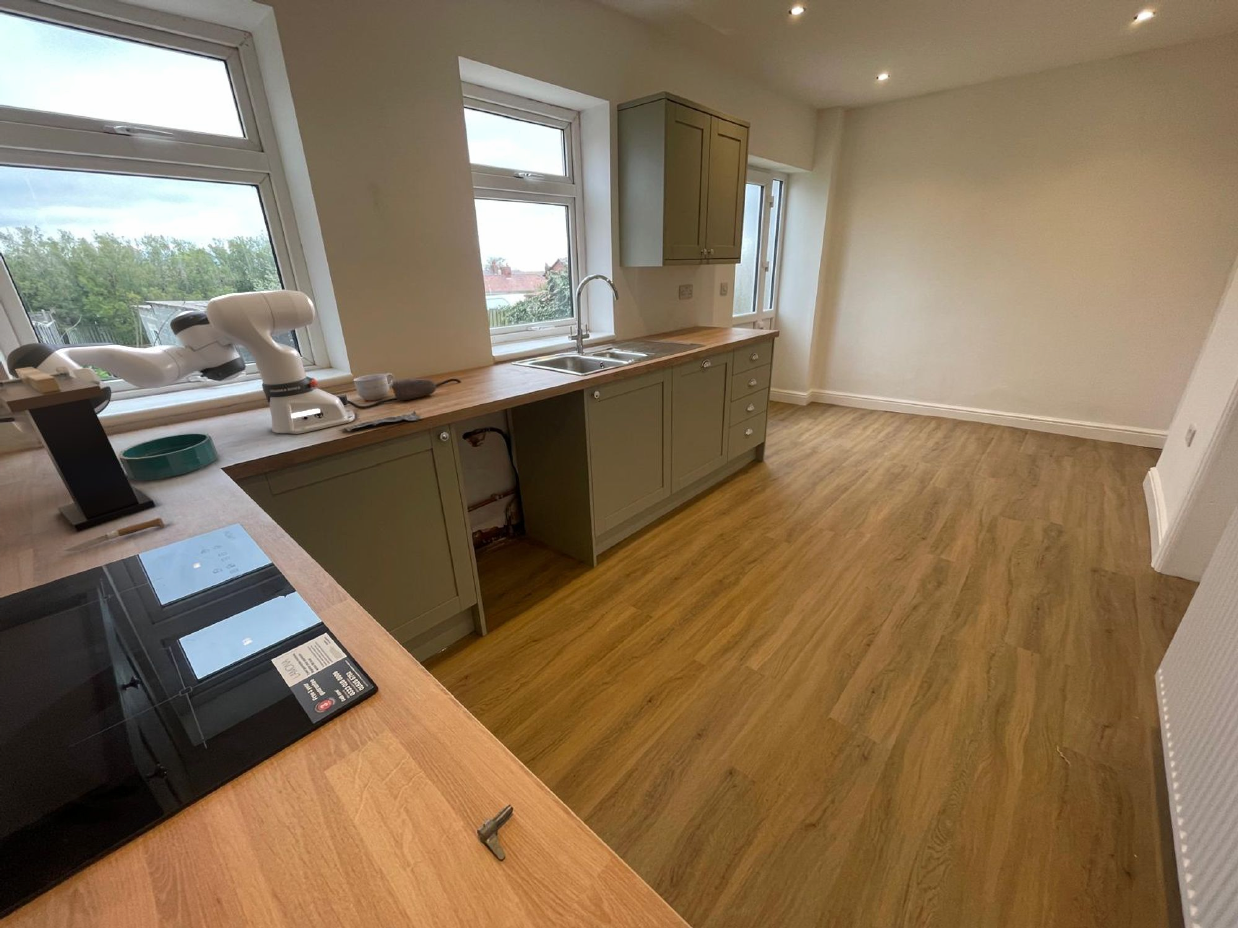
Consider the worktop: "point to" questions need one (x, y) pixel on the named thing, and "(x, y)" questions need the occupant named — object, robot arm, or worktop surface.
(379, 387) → the teacup
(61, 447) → the black slanted stand
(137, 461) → the bowl
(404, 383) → the grey rounded oblong body
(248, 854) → the worktop surface
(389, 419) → the driftwood
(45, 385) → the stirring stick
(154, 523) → the folding knife
